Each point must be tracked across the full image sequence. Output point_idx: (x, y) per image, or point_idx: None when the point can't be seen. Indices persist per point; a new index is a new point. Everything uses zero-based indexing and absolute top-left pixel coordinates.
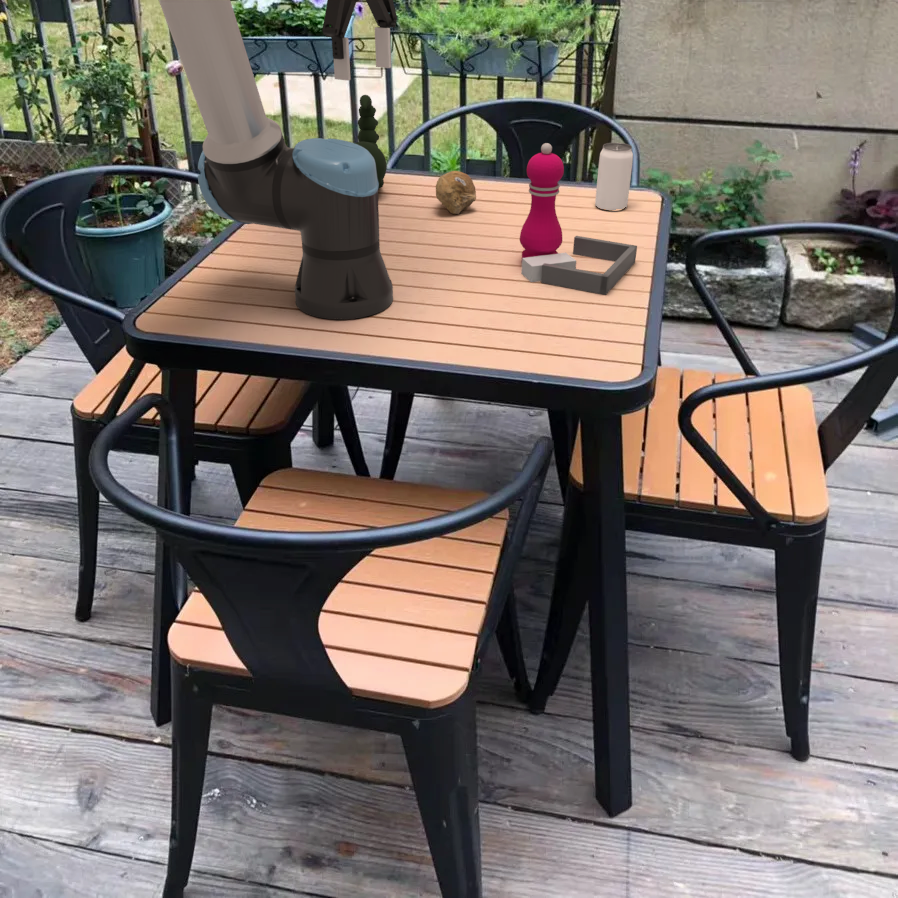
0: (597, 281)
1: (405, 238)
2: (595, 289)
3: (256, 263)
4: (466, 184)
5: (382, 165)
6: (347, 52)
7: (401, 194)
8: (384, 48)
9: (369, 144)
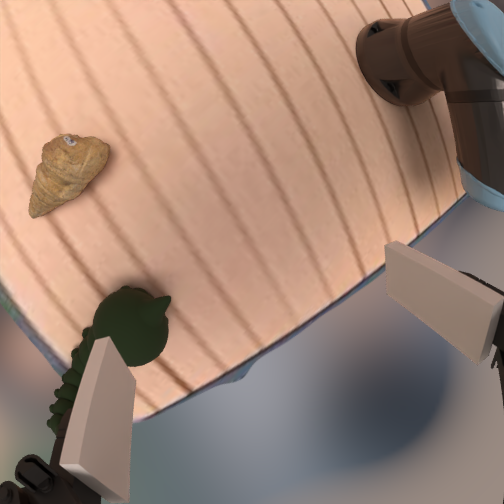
0: None
1: (222, 120)
2: None
3: (390, 199)
4: (63, 136)
5: (114, 297)
6: (458, 276)
7: (88, 277)
8: (106, 402)
9: (118, 338)
